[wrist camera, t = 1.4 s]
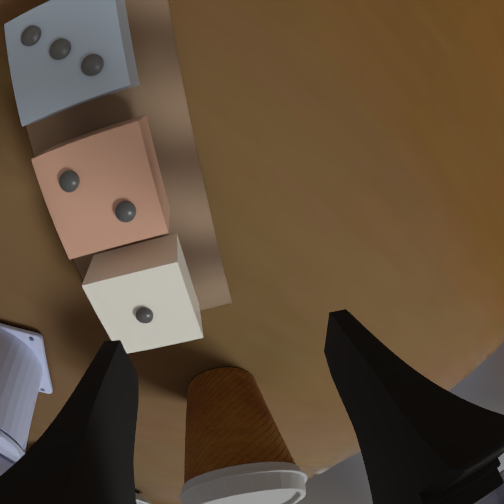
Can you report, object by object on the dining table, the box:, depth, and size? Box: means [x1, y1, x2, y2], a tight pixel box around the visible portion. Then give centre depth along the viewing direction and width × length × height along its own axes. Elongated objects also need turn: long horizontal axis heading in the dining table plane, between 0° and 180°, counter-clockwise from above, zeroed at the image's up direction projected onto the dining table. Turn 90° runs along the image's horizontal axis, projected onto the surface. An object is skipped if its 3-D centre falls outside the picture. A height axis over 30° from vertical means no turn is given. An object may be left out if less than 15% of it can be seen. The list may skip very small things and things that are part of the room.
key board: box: [26, 0, 232, 310], centre depth 15 cm, size 21×9×3 cm, turn 9°
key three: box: [4, 0, 140, 127], centre depth 10 cm, size 5×5×3 cm
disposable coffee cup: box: [180, 367, 307, 504], centre depth 23 cm, size 10×10×12 cm
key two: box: [31, 115, 170, 260], centre depth 13 cm, size 5×5×3 cm
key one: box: [82, 233, 203, 354], centre depth 17 cm, size 5×5×3 cm
